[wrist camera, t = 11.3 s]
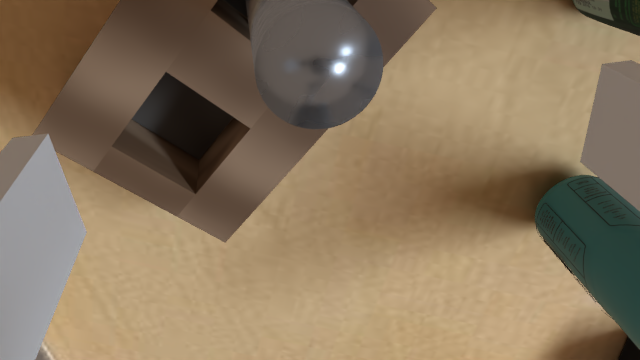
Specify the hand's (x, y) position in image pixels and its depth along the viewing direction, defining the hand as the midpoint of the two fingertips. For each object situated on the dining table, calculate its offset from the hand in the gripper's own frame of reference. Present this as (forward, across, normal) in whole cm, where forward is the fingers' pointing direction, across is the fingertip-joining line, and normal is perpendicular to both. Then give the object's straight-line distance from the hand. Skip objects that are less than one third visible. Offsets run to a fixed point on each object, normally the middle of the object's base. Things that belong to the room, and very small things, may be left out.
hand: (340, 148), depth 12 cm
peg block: (+20, +3, +3) cm, 21 cm away
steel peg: (+18, 0, 0) cm, 18 cm away
